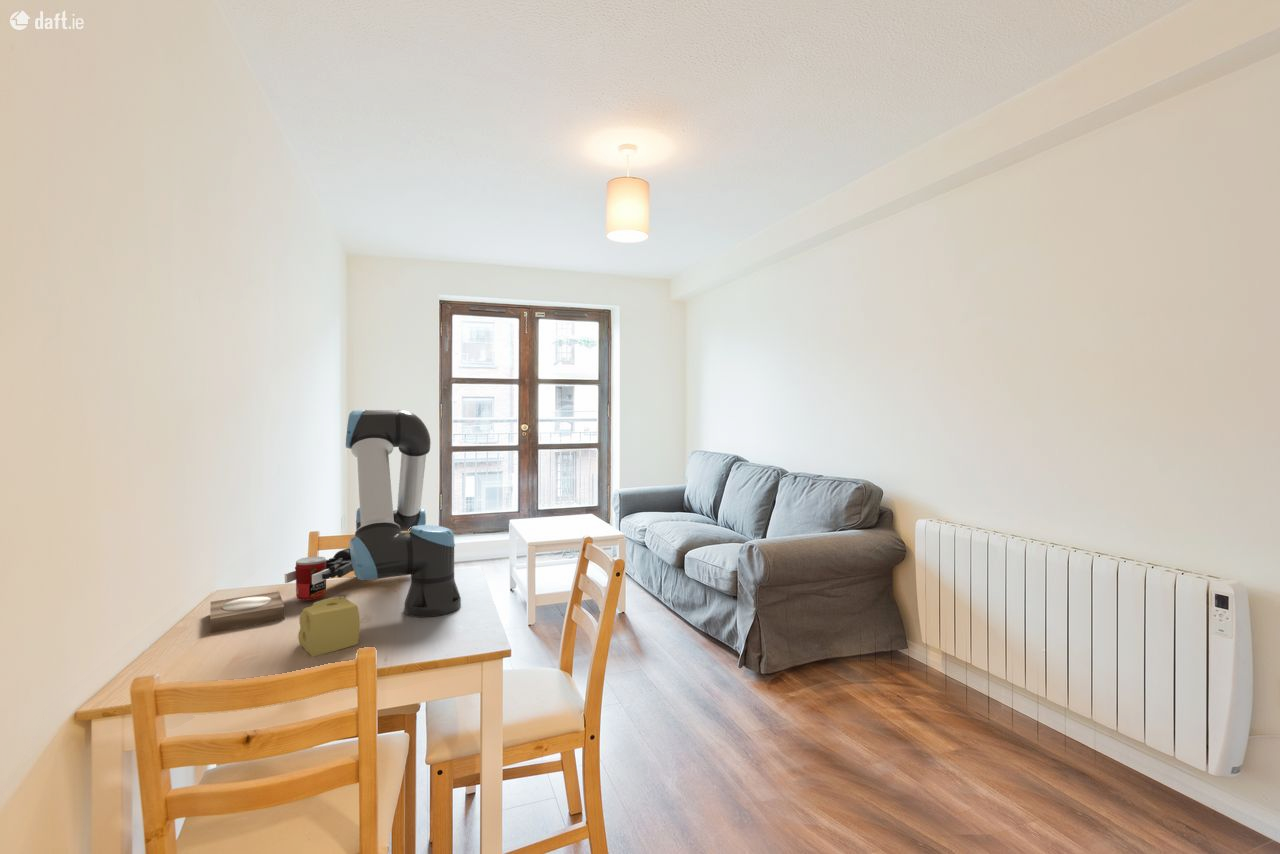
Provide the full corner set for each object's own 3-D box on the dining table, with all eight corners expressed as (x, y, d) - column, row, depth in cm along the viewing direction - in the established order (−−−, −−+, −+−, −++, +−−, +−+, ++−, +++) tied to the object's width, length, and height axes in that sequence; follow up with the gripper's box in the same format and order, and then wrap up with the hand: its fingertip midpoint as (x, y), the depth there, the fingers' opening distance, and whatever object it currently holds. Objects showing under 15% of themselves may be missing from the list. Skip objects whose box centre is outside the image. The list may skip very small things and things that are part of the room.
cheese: (298, 645, 139) (297, 603, 139) (346, 633, 147) (345, 594, 146) (311, 658, 132) (310, 615, 131) (360, 645, 139) (360, 604, 139)
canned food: (313, 601, 167) (313, 563, 167) (289, 599, 169) (289, 562, 169) (332, 593, 175) (332, 557, 175) (309, 591, 176) (309, 555, 176)
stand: (284, 619, 156) (284, 605, 156) (210, 632, 146) (210, 617, 146) (279, 603, 169) (278, 590, 169) (210, 614, 159) (210, 600, 159)
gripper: (379, 572, 188) (332, 593, 166) (321, 569, 191) (267, 590, 169) (379, 549, 188) (332, 567, 165) (321, 546, 191) (267, 564, 169)
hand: (299, 578), depth 167 cm, fingers closed on canned food, 8 cm apart
